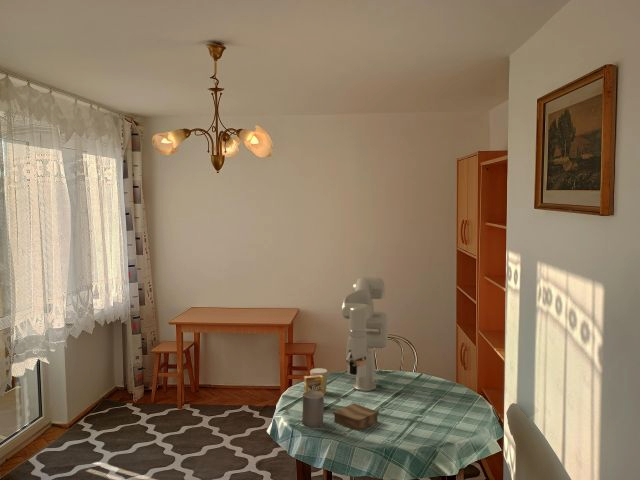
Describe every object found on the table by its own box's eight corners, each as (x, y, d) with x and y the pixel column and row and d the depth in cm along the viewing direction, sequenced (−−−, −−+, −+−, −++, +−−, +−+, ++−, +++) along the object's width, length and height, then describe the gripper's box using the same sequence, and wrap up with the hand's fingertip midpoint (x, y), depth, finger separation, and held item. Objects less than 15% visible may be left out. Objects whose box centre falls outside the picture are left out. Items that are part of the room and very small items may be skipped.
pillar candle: (299, 421, 268) (299, 389, 267) (318, 418, 272) (319, 386, 271) (307, 429, 259) (307, 396, 258) (327, 425, 263) (327, 393, 262)
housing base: (354, 371, 271) (354, 361, 270) (366, 375, 266) (366, 364, 266) (347, 374, 267) (347, 363, 267) (359, 377, 262) (359, 366, 262)
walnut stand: (353, 413, 278) (353, 403, 278) (378, 422, 268) (378, 411, 268) (332, 422, 267) (333, 411, 267) (358, 431, 257) (358, 420, 257)
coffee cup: (330, 392, 310) (331, 369, 309) (321, 396, 302) (321, 374, 301) (316, 388, 314) (316, 367, 314) (306, 393, 307) (306, 371, 306)
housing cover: (354, 361, 270) (354, 356, 270) (365, 364, 265) (366, 359, 265) (348, 363, 267) (348, 358, 267) (360, 366, 262) (360, 361, 262)
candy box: (305, 408, 284) (306, 378, 283) (303, 405, 288) (303, 375, 287) (322, 407, 287) (323, 376, 286) (320, 404, 291) (320, 374, 290)
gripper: (362, 329, 274) (361, 367, 275) (339, 335, 261) (338, 375, 263) (375, 332, 269) (374, 370, 270) (352, 338, 256) (351, 378, 258)
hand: (356, 372), depth 266 cm, fingers closed on housing base, 5 cm apart
